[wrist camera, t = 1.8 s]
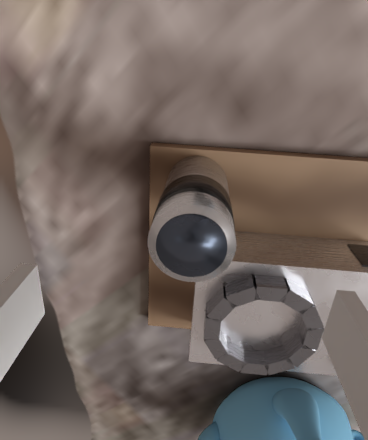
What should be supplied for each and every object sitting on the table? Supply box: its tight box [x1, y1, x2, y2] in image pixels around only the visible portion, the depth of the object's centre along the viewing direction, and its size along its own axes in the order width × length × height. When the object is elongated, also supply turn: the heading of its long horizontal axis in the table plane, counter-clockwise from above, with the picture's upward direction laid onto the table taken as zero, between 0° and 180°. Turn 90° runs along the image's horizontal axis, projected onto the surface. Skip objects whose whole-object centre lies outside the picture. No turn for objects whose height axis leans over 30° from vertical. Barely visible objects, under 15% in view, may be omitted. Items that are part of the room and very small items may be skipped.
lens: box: [147, 156, 236, 282], centre depth 23 cm, size 5×5×10 cm
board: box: [148, 142, 368, 329], centre depth 31 cm, size 19×20×1 cm
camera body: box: [189, 231, 368, 376], centre depth 28 cm, size 11×15×6 cm
